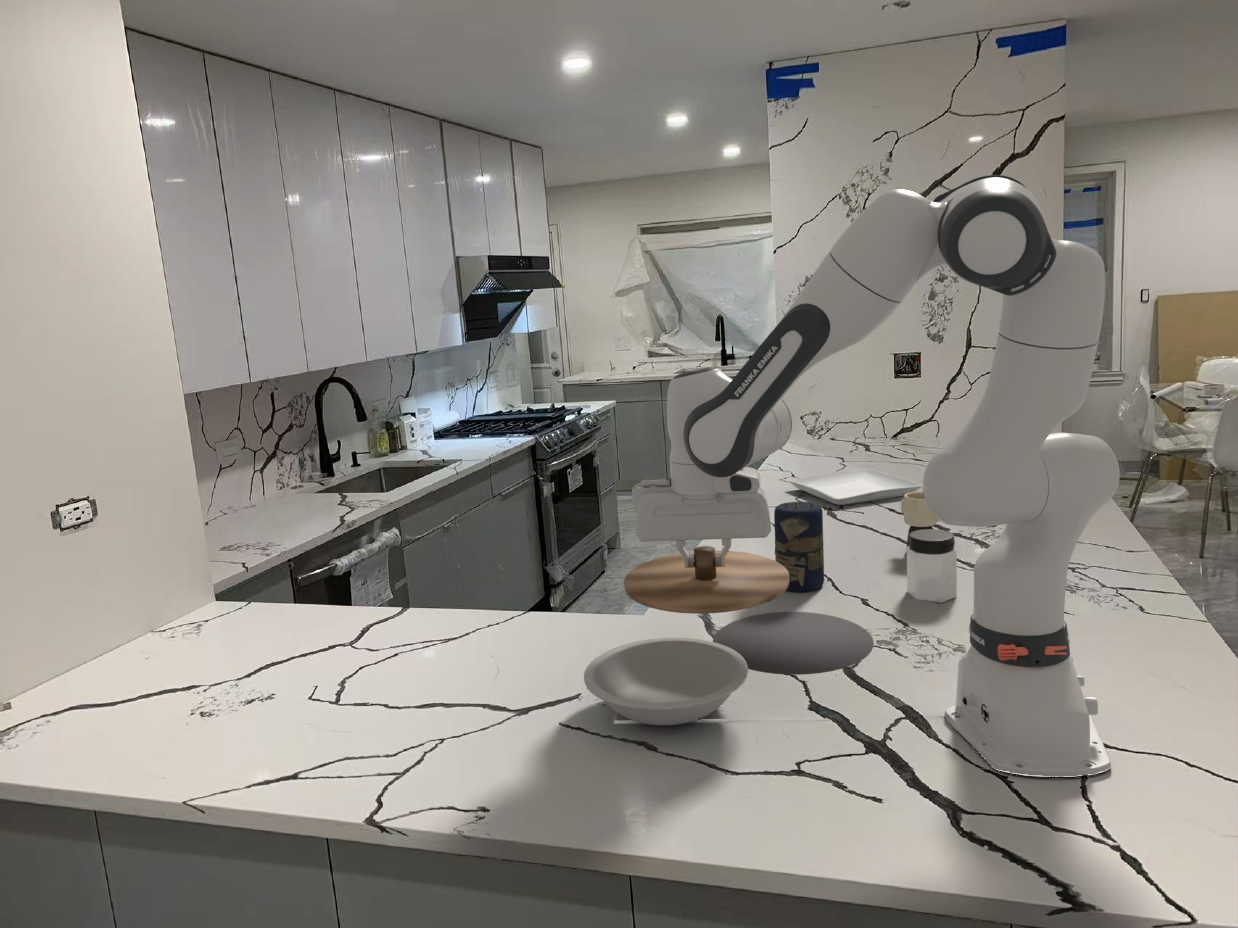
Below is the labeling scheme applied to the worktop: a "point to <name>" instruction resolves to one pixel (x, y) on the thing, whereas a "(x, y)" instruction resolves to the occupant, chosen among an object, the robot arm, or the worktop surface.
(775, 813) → the worktop surface
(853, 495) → the square plate
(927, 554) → the jar
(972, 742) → the robot arm
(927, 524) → the character mug
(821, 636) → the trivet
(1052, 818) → the worktop surface
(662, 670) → the soup bowl
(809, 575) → the canister
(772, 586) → the lid
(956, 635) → the worktop surface
